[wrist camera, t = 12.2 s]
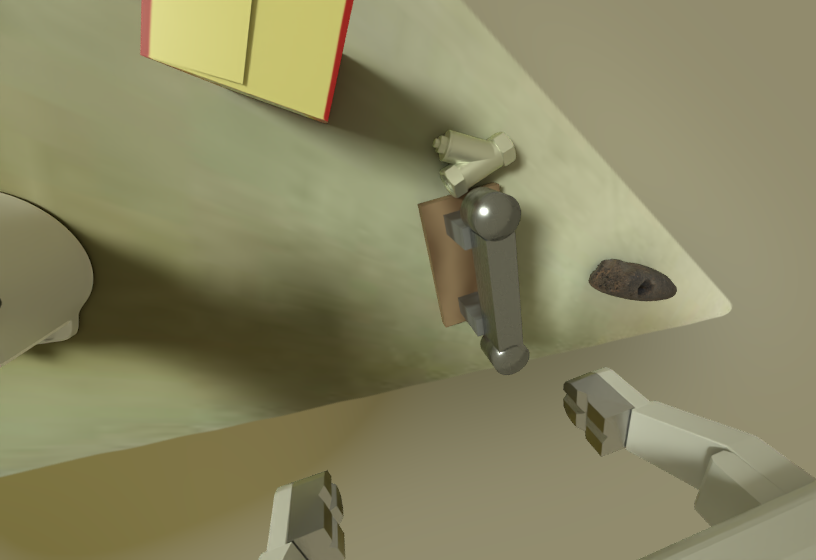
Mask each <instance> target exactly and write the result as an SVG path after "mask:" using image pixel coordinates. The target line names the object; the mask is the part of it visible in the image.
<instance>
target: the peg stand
mask: <svg viewBox="0 0 816 560" xmlns="http://www.w3.org/2000/svg"><path fill="white" fill-rule="evenodd" d="M479 187H488V188H491V189H493V190H496V191H499V192H500V188H499V184H497V183H494V182H492V183H489V184H485V185H482V186H479ZM479 187H475V188H472V189H468V192H466V193H465V194H463V195H462V196H460V197H459V198H455V197H453V196H452V195H447V196H444V197H440V198H437V199H434V200H430V201H427V202H423V203H420V204H418V208H419V213H420V217H421V222H422V227H423V232H424V236H425V241H426V246H427V251H428V255H429V260H430V265H431V270H432V274H433V279H434V284H435V289H436V293H437V298H438V303H439V308H440V312H441V317H442V322H443V324H444V325H445V327H449V326H452V325H455V324H458V323H461V322H464V321H467V322H468V323H469V325H470V326H471V327H472V329H473V330H474V332H475V333H476V334H477V336H481V335H484V329H483V323H482V316H481V309H480V302H479V295H478V288H477V281H476V274H475V267H474V260H473V253H472V246H471V239H470V232H469V229H470V228H469V227H467V226H466V225H465V224H464V223H463V221H462V219H461V215H460V208H461V204H462V201H463V199H464V198H465V196H466V195H467V194H468V193H469V192H470V191H472V190H473V189H476V188H479Z"/></svg>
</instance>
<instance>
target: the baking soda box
mask: <svg viewBox="0 0 816 560" xmlns="http://www.w3.org/2000/svg"><path fill="white" fill-rule="evenodd" d="M352 5H353V0H142V5H141V52H140V55H142V56H145V57H147V58H150V59H152V60H155V61H157V62H160V63H162V64H165V65H167V66H170V67H173V68H175V69H178V70H180V71H183V72H185V73H188V74H190V75H193V76H196V77H198V78H201V79H203V80H206V81H208V82H211V83H213V84H216V85H219V86H221V87H224V88H226V89H229V90H232V91H235V92H238V93H240V94H243V95H246V96H249V97H252V98H255V99H257V100H260V101H263V102H266V103H269V104H272V105H274V106H277V107H280V108H283V109H286V110H289V111H291V112H294V113H297V114H300V115H303V116H306V117H308V118H311V119H314V120H317V121H320V122H323V123H325V124H327V122H328V118H329V113H330V109H331V104H332V99H333V95H334V90H335V85H336V80H337V76H338V71H339V66H340V62H341V57H342V52H343V47H344V43H345V38H346V33H347V29H348V24H349V19H350V14H351V10H352Z"/></svg>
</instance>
